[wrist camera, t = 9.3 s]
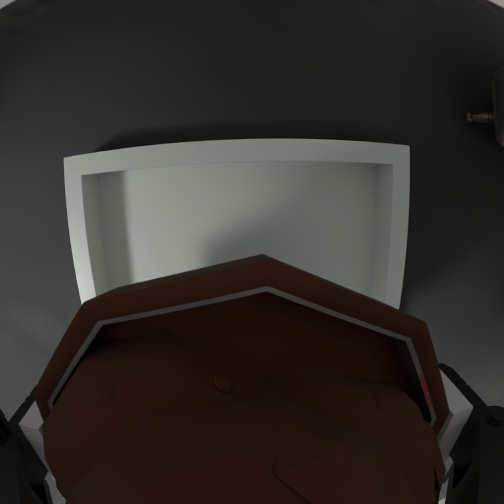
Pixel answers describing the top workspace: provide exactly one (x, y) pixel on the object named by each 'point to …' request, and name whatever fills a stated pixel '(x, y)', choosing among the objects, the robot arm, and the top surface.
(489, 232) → the top surface
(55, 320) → the top surface
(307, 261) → the tray
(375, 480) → the ice cream bowl
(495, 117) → the alarm clock
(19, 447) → the robot arm
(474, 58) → the top surface
